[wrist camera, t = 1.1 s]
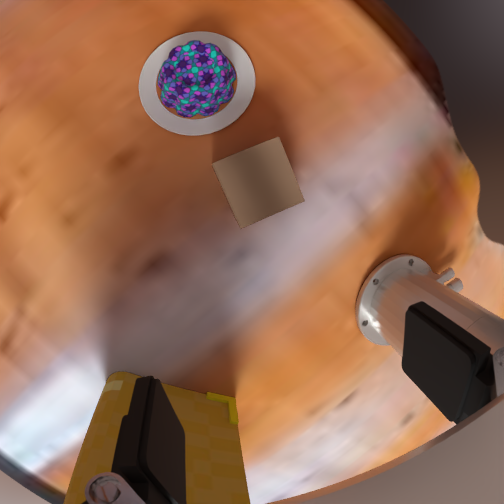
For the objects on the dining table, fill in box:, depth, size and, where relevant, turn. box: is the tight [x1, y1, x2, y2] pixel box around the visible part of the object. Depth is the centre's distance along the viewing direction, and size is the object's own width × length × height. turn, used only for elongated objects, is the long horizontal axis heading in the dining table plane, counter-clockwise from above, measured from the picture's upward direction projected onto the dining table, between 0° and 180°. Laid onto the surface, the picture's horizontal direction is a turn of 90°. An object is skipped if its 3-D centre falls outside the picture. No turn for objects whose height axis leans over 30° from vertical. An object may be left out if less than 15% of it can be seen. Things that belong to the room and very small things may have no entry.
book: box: [64, 372, 250, 504], centre depth 25 cm, size 17×7×25 cm, turn 69°
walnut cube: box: [212, 137, 304, 229], centre depth 28 cm, size 6×6×6 cm
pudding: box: [139, 32, 255, 135], centre depth 25 cm, size 12×12×5 cm
